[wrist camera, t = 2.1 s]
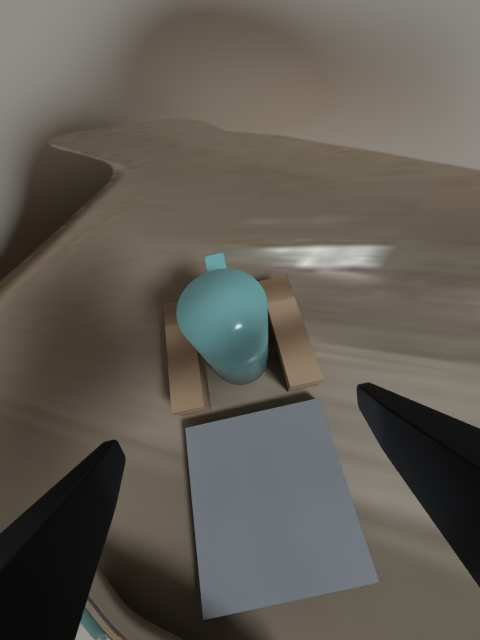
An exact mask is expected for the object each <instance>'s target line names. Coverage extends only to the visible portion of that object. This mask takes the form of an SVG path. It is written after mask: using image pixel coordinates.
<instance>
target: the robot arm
mask: <svg viewBox="0 0 480 640" xmlns="http://www.w3.org/2000/svg"><path fill="white" fill-rule="evenodd" d="M357 400H358V406H359V409H360V411H361V412H362V414H363V416H364V418H365V420H366V421H367V423H368V425H369V427H370V428H371V430H372V432H373V434H374V436H375V437H376V439H377V441H378V443H379V444H380V446H381V448H382V449H383V451H384V452H385V454H386V455H387V457H388V458H389V460H390V461H391V462H392V464H393V465H394V467H395V468H396V469H397V471H398V472H399V474H400V475H401V477H402V478H403V479H404V481H405V482H406V484H407V485H408V486H409V488H410V489H411V491H412V492H413V494H414V495H415V496H416V498H417V499H418V501H419V502H420V504H421V505H422V506H423V508H424V509H425V511H426V512H427V513H428V515H429V516H430V518H431V519H432V521H433V522H434V523H435V525H436V526H437V528H438V529H439V530H440V532H441V533H442V535H443V536H444V538H445V539H446V540H447V542H448V543H449V545H450V546H451V547H452V549H453V550H454V552H455V553H456V555H457V556H458V557H459V559H460V560H461V562H462V563H463V564H464V566H465V567H466V569H467V570H468V572H469V573H470V574H471V576H472V577H473V579H474V580H475V582H476V583H477V584H478V586H479V587H480V429H479V428H477V427H475V426H472V425H470V424H467V423H465V422H463V421H460V420H458V419H455V418H453V417H451V416H448V415H446V414H444V413H441V412H439V411H436V410H434V409H432V408H429V407H427V406H424V405H422V404H420V403H417V402H415V401H412V400H410V399H408V398H405V397H403V396H400V395H398V394H396V393H393V392H391V391H389V390H386V389H384V388H381V387H379V386H377V385H374V384H372V383H369V382H367V383H363V384H359V385H357ZM125 460H126V459H125V455H124V453H123V451H122V449H121V447H120V445H119V443H118V441H117V440H110V441H106V442H103V443H102V444H101V445H100V446H99V447H98V448H96V449H95V450H94V451H93V452H92V453H91V454H90V455H88V456H87V457H86V458H85V459H84V460H83V461H82V462H81V463H79V464H78V465H77V466H76V467H75V468H74V469H73V470H72V471H70V472H69V473H68V474H67V475H66V476H65V477H64V478H62V479H61V480H60V481H59V482H58V483H57V484H56V485H55V486H53V487H52V488H51V489H50V490H49V491H48V492H47V493H46V494H44V495H43V496H42V497H41V498H40V499H39V500H38V501H36V502H35V503H34V504H33V505H32V506H31V507H30V508H29V509H27V510H26V511H25V512H24V513H23V514H22V515H21V516H19V517H18V518H17V519H16V520H15V521H14V522H13V523H12V524H10V525H9V526H8V527H7V528H6V529H5V530H4V531H3V532H1V533H0V640H75V638H76V635H77V632H78V628H79V625H80V622H81V619H82V615H83V612H84V609H85V606H86V603H87V599H88V596H89V593H90V590H91V586H92V583H93V580H94V577H95V573H96V570H97V567H98V564H99V560H100V557H101V554H102V551H103V547H104V544H105V541H106V538H107V534H108V531H109V528H110V525H111V521H112V518H113V515H114V511H115V508H116V504H117V499H118V495H119V490H120V485H121V480H122V476H123V471H124V466H125Z"/></svg>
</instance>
